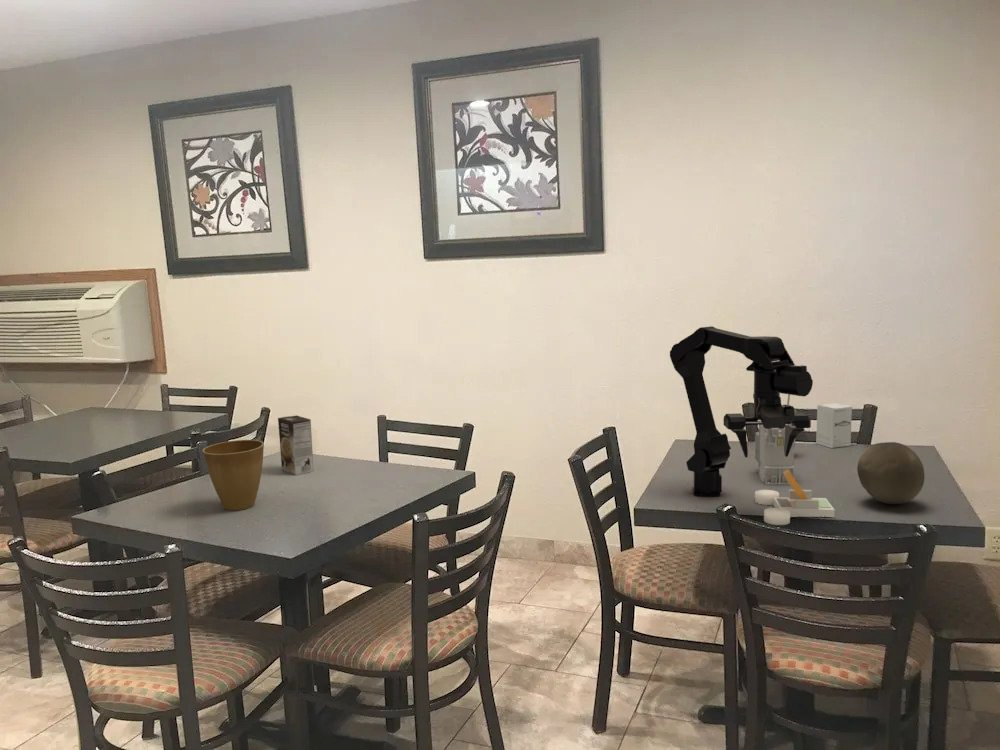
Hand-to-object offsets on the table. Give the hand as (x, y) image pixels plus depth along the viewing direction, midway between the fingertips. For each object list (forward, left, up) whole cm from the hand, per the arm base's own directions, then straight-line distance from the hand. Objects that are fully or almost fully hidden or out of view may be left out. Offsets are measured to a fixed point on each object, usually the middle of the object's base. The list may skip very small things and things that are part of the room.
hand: (766, 456), depth 189 cm
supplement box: (+30, +68, -13) cm, 75 cm away
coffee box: (-131, +30, -13) cm, 135 cm away
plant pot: (-132, -5, -13) cm, 132 cm away
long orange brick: (+8, 0, -10) cm, 13 cm away
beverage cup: (+13, +53, -13) cm, 56 cm away
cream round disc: (+1, -8, -13) cm, 15 cm away
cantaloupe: (+29, +7, -13) cm, 33 cm away
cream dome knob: (+1, +7, -13) cm, 15 cm away
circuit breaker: (+6, +30, -13) cm, 33 cm away
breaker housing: (+8, 0, -13) cm, 16 cm away
